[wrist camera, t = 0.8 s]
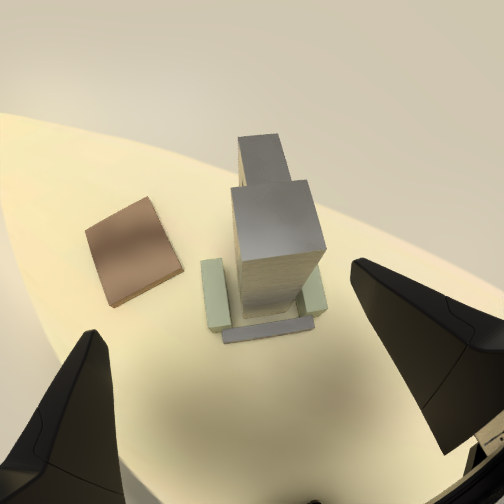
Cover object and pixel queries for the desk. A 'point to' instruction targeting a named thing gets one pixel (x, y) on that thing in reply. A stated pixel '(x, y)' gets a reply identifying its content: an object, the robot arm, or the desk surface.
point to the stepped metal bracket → (272, 228)
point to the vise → (219, 320)
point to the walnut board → (131, 252)
